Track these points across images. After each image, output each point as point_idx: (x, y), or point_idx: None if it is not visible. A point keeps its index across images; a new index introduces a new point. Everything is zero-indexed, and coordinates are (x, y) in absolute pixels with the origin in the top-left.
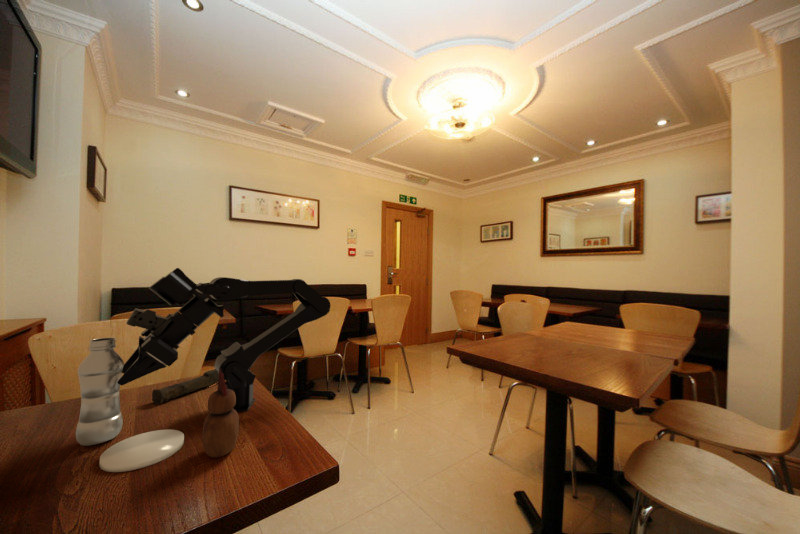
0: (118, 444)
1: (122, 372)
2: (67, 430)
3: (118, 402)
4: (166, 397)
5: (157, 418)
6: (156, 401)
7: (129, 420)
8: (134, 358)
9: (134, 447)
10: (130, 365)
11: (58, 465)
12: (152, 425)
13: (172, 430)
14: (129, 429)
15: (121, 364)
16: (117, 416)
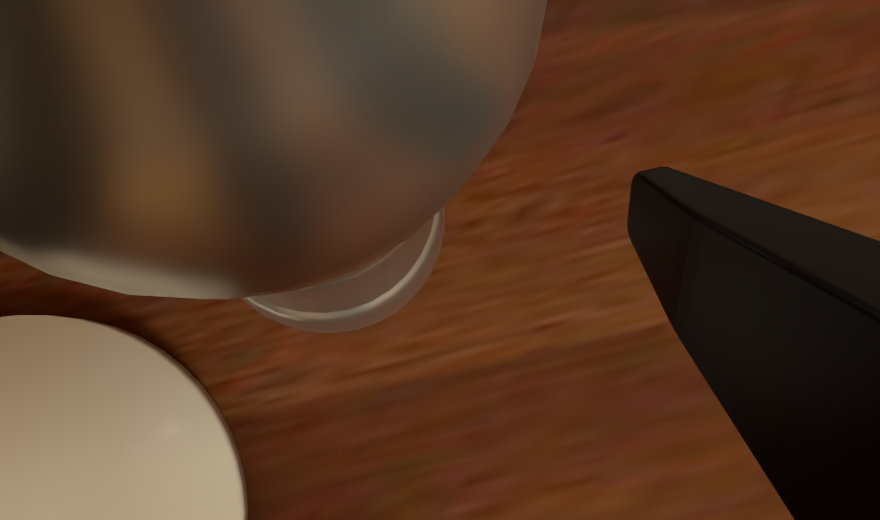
0: (130, 368)
1: (629, 216)
2: (589, 8)
3: (297, 298)
4: None
5: (550, 480)
6: None
7: (595, 306)
8: (813, 352)
9: (27, 478)
10: (703, 301)
11: None
12: (436, 476)
13: None
14: (436, 347)
15: (114, 284)
16: (278, 310)
